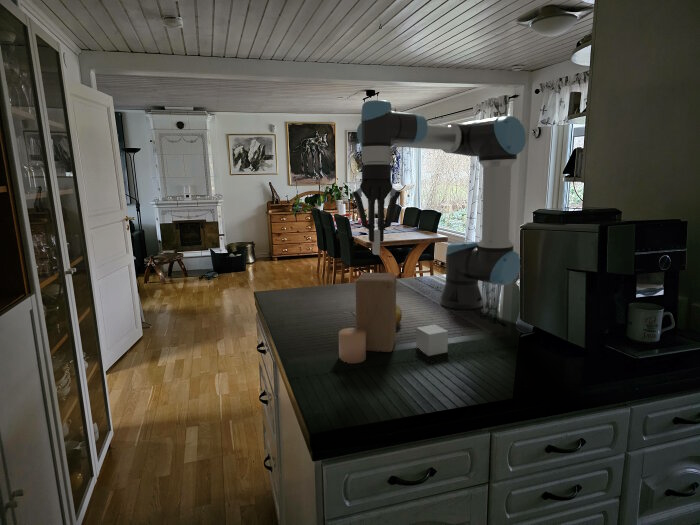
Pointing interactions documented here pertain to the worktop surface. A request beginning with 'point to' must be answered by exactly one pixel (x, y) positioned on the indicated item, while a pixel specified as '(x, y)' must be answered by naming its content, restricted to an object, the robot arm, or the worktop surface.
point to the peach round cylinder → (352, 345)
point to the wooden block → (377, 310)
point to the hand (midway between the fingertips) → (376, 253)
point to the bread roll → (398, 314)
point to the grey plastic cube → (432, 339)
